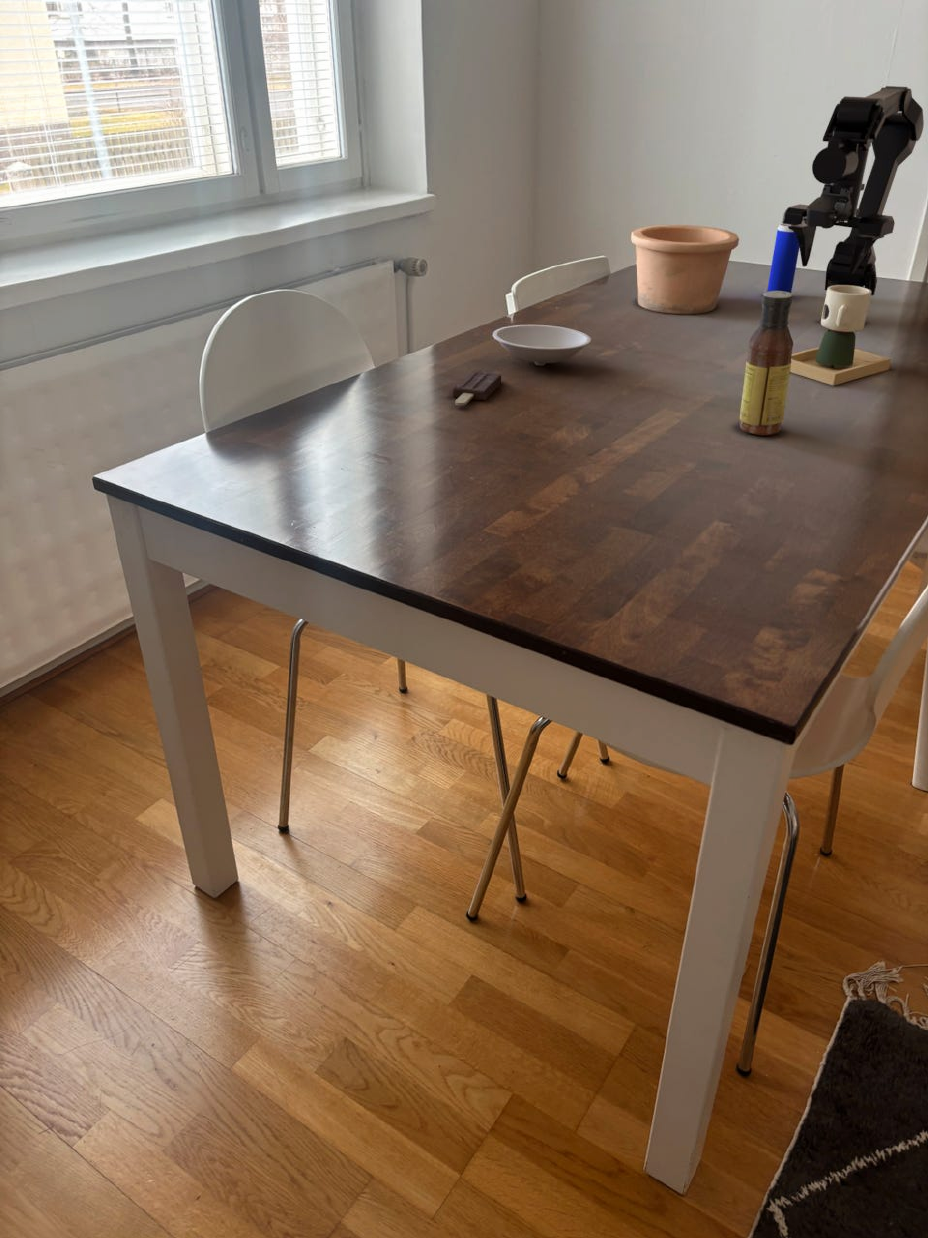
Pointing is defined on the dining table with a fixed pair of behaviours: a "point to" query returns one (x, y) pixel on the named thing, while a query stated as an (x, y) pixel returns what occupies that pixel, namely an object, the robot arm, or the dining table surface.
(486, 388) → the ice cream bar
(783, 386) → the sauce bottle
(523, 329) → the dish
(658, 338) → the dining table surface
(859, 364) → the mug tray
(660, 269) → the pottery
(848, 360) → the character mug
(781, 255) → the beverage can
